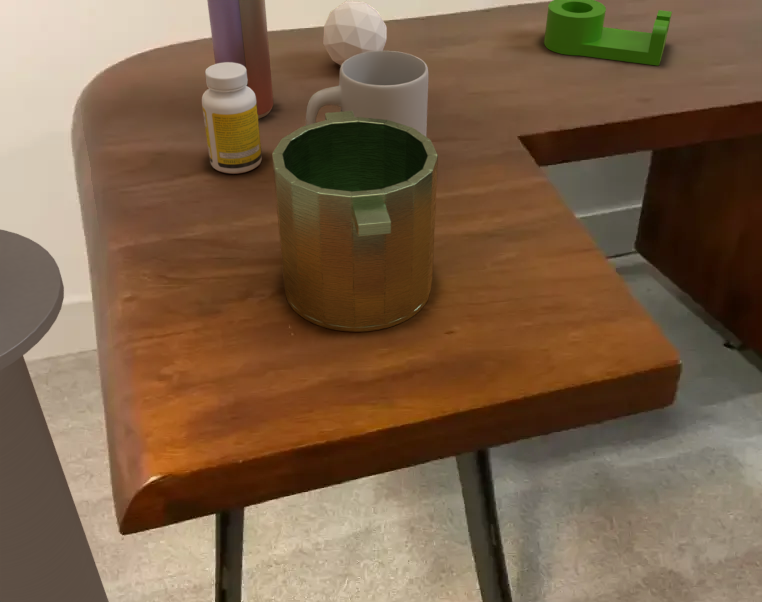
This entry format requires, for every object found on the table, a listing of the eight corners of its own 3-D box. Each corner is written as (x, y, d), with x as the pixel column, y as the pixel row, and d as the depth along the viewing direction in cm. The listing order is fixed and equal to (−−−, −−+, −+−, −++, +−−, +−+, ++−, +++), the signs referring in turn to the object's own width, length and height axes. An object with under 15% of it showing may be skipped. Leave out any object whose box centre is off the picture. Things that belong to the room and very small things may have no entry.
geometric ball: (371, 90, 115) (399, 50, 108) (311, 73, 111) (335, 31, 104) (372, 39, 117) (398, -3, 110) (313, 21, 114) (336, -23, 107)
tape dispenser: (538, 50, 117) (543, 13, 113) (549, 30, 122) (554, -6, 118) (658, 66, 113) (666, 28, 110) (665, 45, 118) (672, 8, 115)
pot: (296, 361, 72) (285, 223, 63) (275, 237, 85) (263, 109, 76) (452, 343, 74) (462, 206, 65) (408, 225, 87) (411, 97, 78)
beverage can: (224, 124, 102) (206, -17, 91) (218, 101, 106) (201, -36, 96) (277, 119, 103) (266, -22, 92) (269, 96, 107) (258, -41, 97)
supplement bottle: (273, 162, 95) (264, 70, 89) (231, 181, 93) (219, 87, 86) (241, 145, 98) (230, 54, 91) (199, 162, 95) (185, 70, 89)
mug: (413, 149, 97) (415, 45, 90) (435, 188, 91) (440, 81, 84) (302, 162, 95) (295, 57, 88) (317, 203, 89) (311, 95, 82)
